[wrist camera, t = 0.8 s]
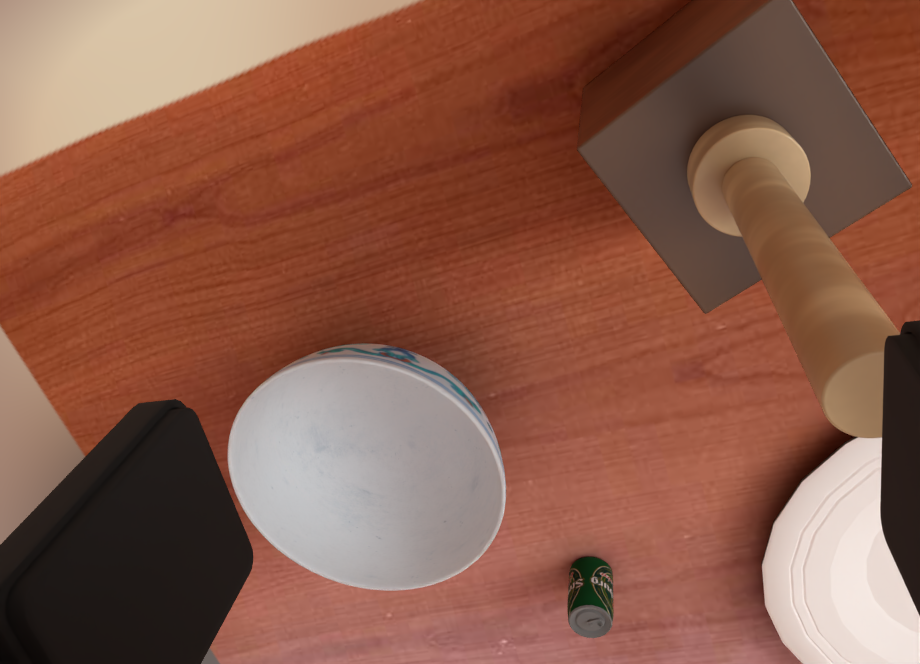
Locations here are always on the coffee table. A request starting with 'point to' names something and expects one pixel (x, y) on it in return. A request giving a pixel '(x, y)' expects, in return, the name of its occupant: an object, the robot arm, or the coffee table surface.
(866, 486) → the plate
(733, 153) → the stick
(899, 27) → the coffee table surface
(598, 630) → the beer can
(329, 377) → the chinaware
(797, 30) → the stand
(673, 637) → the coffee table surface
